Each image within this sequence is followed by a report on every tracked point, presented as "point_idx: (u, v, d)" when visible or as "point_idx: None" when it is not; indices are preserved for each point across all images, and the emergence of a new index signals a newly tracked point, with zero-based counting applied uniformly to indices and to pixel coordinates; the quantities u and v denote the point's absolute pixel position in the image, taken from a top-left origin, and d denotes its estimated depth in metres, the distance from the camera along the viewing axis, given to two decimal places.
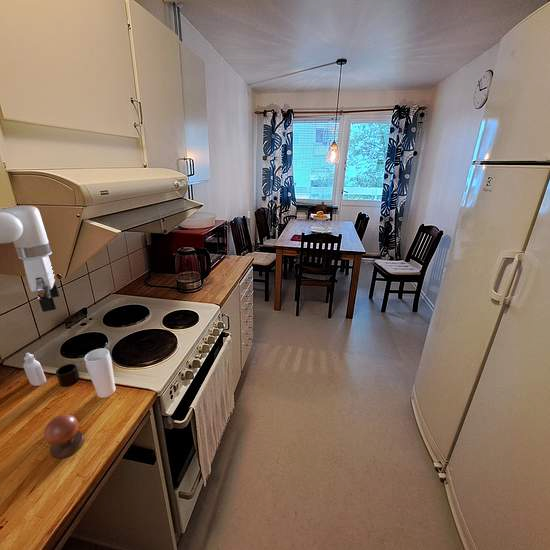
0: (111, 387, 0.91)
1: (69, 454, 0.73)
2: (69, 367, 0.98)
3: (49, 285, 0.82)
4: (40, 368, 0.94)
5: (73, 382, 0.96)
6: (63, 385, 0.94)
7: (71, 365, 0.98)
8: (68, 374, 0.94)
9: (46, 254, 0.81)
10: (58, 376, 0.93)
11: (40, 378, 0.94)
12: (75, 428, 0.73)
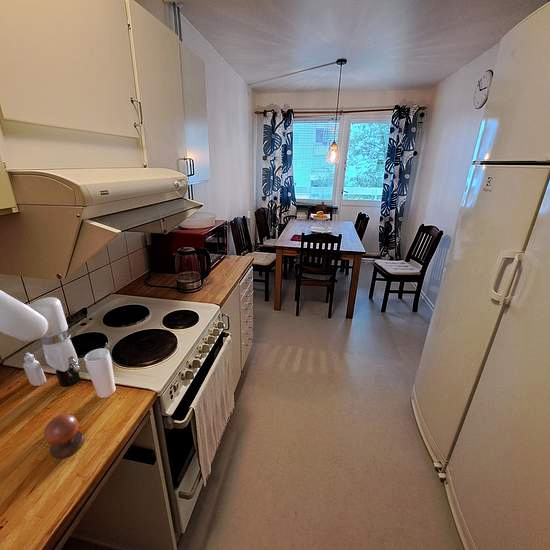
0: (111, 387, 0.91)
1: (69, 454, 0.73)
2: None
3: (77, 360, 0.94)
4: (40, 368, 0.94)
5: None
6: (63, 385, 0.94)
7: None
8: None
9: (69, 335, 0.92)
10: (58, 376, 0.93)
11: (40, 378, 0.94)
12: (75, 428, 0.73)
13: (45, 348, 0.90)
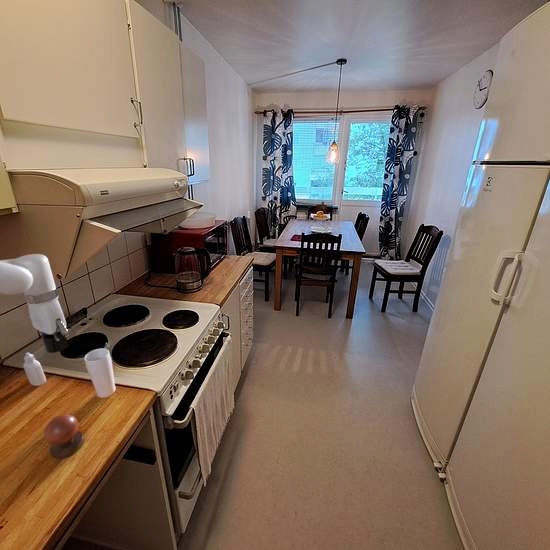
0: (111, 387, 0.91)
1: (69, 454, 0.73)
2: (57, 333, 0.92)
3: (65, 324, 0.88)
4: (40, 368, 0.94)
5: None
6: (50, 350, 0.89)
7: (59, 331, 0.92)
8: None
9: (57, 296, 0.87)
10: (45, 340, 0.88)
11: (40, 378, 0.94)
12: (75, 428, 0.73)
13: (31, 309, 0.85)
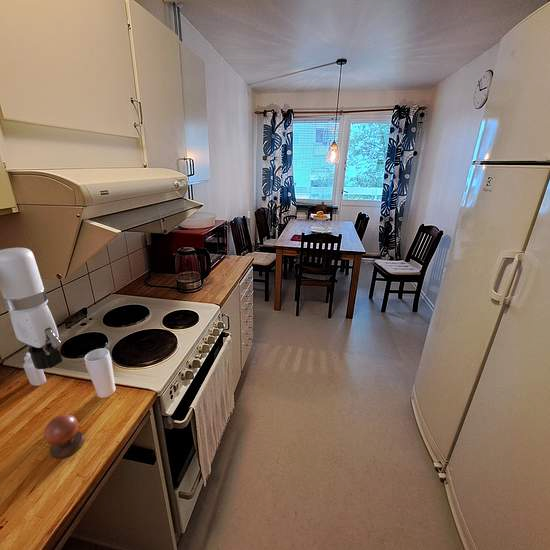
0: (111, 387, 0.91)
1: (69, 454, 0.73)
2: None
3: (57, 334, 0.71)
4: None
5: None
6: (39, 367, 0.72)
7: None
8: None
9: (47, 300, 0.70)
10: (32, 355, 0.71)
11: (40, 378, 0.94)
12: (75, 428, 0.73)
13: (13, 317, 0.68)
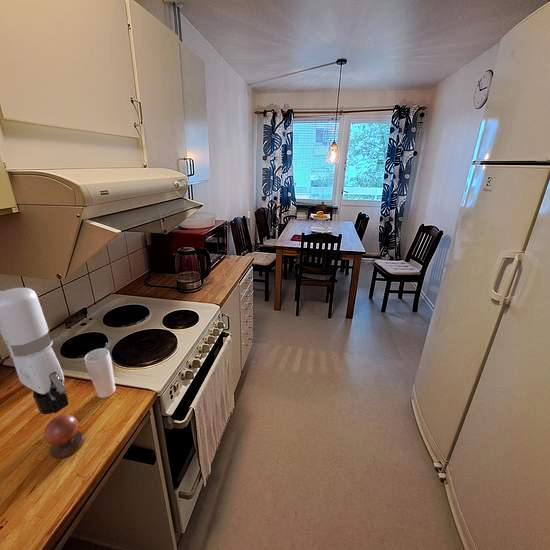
0: (111, 387, 0.91)
1: (69, 454, 0.73)
2: None
3: (63, 377, 0.66)
4: None
5: None
6: (44, 412, 0.67)
7: None
8: None
9: (51, 342, 0.65)
10: (36, 400, 0.66)
11: None
12: (75, 428, 0.73)
13: (16, 361, 0.63)
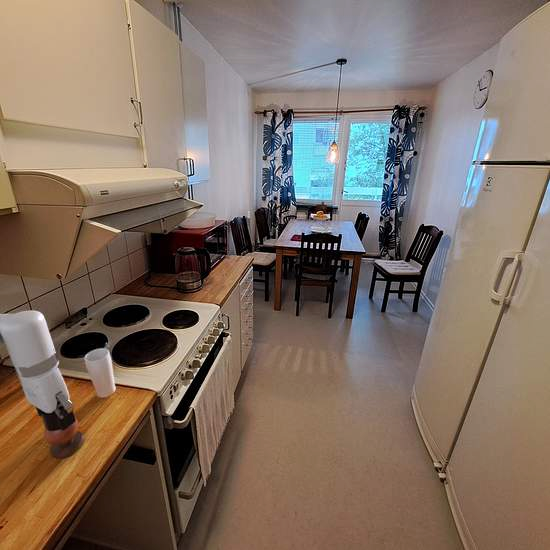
0: (111, 387, 0.91)
1: (69, 454, 0.73)
2: (59, 402, 0.73)
3: (68, 396, 0.68)
4: None
5: None
6: (50, 429, 0.69)
7: None
8: None
9: (58, 362, 0.67)
10: (43, 417, 0.68)
11: None
12: (75, 428, 0.73)
13: (23, 381, 0.65)
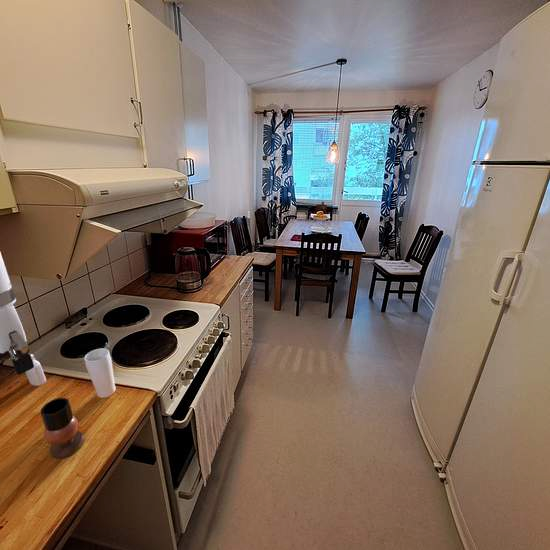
0: (111, 387, 0.91)
1: (69, 454, 0.73)
2: (59, 402, 0.73)
3: (25, 338, 0.64)
4: (40, 368, 0.94)
5: (64, 424, 0.70)
6: (50, 429, 0.69)
7: (62, 400, 0.73)
8: (57, 414, 0.69)
9: (14, 300, 0.63)
10: (43, 417, 0.68)
11: (40, 378, 0.94)
12: (75, 428, 0.73)
13: None
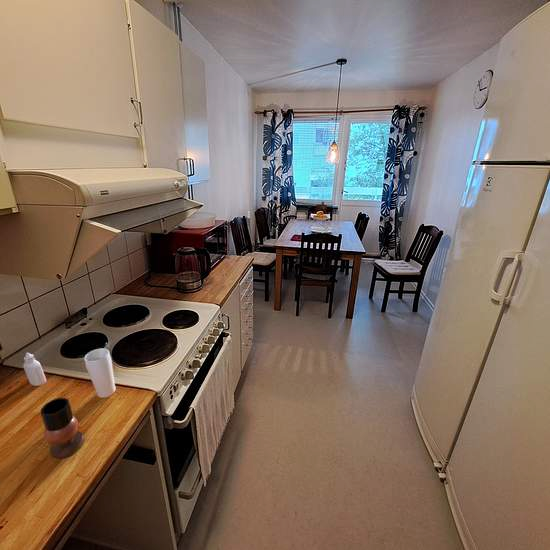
0: (111, 387, 0.91)
1: (69, 454, 0.73)
2: (59, 402, 0.73)
3: None
4: (40, 368, 0.94)
5: (64, 424, 0.70)
6: (50, 429, 0.69)
7: (62, 400, 0.73)
8: (57, 414, 0.69)
9: None
10: (43, 417, 0.68)
11: (40, 378, 0.94)
12: (75, 428, 0.73)
13: None
